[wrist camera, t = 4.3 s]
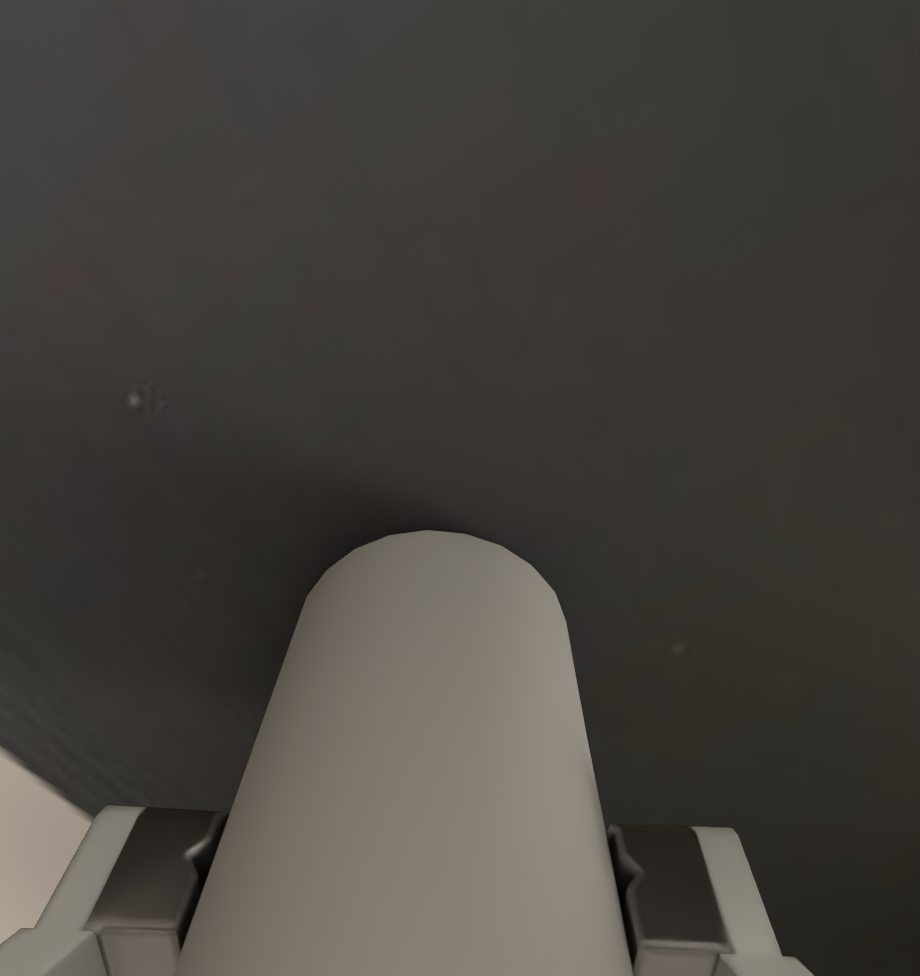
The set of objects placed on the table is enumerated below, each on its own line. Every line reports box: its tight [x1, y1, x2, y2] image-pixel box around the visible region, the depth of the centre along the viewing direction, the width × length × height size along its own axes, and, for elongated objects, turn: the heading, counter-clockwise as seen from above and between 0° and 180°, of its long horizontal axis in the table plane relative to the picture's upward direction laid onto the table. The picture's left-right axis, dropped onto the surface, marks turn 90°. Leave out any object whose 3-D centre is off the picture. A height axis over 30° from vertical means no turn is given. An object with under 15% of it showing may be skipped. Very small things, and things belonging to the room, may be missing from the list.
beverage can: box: [173, 530, 633, 976], centre depth 9 cm, size 5×5×12 cm
